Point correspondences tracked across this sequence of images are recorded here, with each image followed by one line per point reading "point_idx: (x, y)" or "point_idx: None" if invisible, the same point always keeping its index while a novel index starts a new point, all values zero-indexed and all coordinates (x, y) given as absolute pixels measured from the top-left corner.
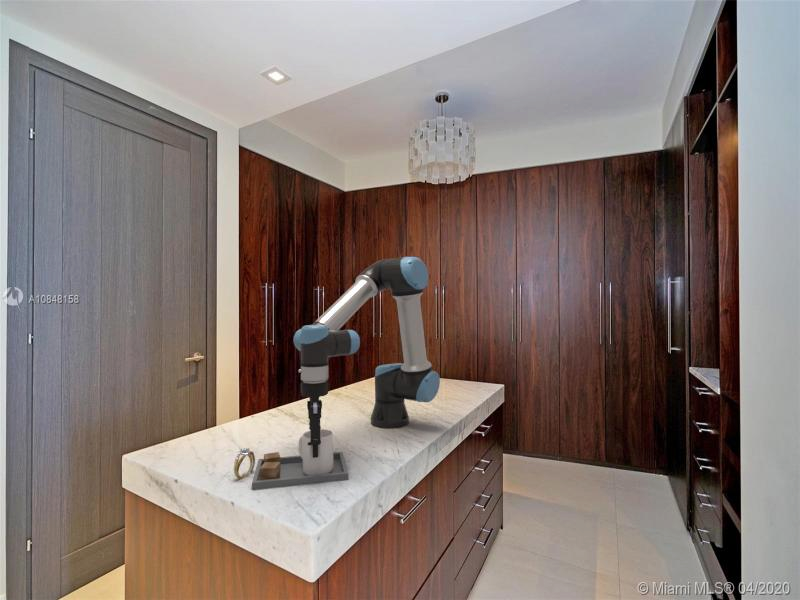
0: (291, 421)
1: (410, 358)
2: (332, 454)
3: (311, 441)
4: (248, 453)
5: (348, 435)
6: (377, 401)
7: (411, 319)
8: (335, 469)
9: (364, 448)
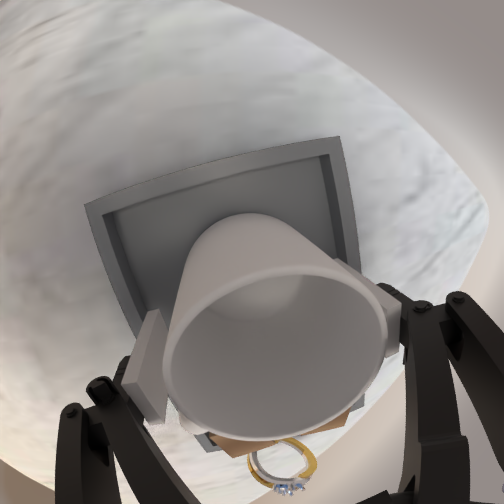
0: None
1: None
2: (270, 225)
3: (464, 339)
4: (299, 478)
5: None
6: None
7: None
8: (230, 203)
9: (3, 144)
